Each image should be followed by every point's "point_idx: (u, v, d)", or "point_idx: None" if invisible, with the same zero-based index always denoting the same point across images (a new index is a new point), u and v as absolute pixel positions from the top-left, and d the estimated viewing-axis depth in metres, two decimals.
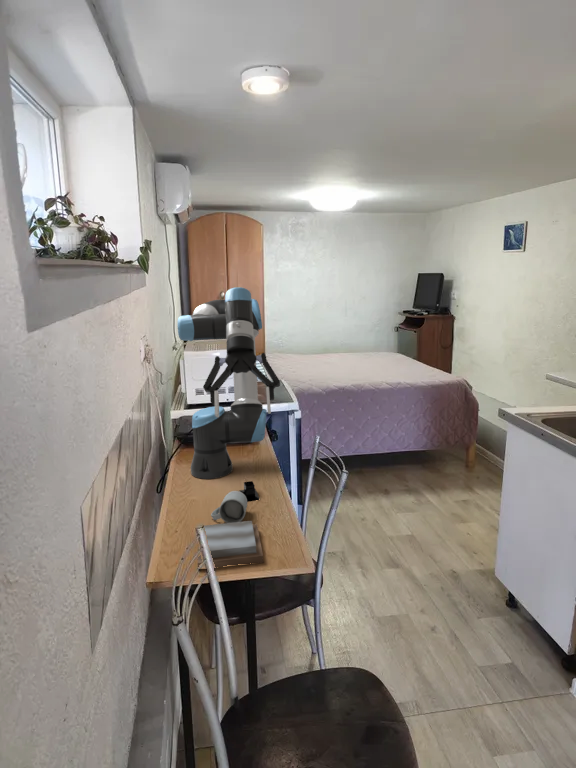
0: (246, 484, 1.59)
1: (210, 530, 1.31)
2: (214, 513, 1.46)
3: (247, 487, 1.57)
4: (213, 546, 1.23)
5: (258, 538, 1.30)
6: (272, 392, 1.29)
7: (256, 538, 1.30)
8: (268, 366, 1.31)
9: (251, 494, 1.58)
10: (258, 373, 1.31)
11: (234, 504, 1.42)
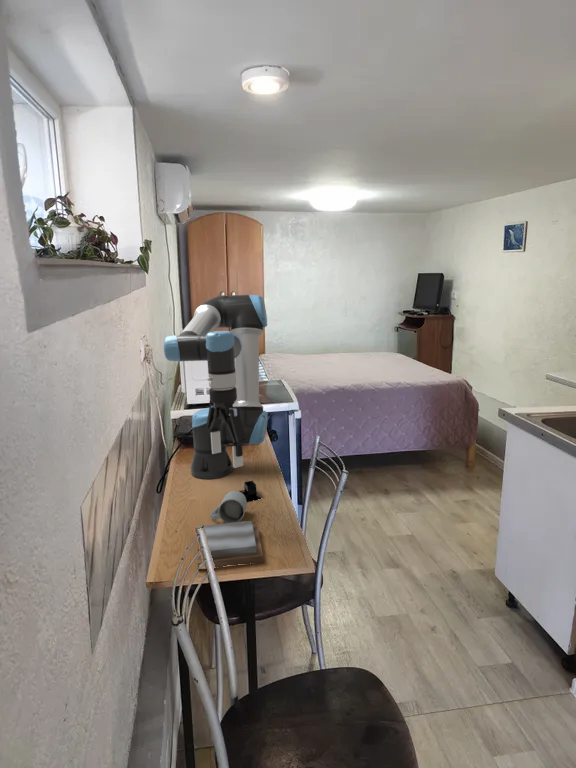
0: (247, 484, 1.59)
1: (210, 530, 1.31)
2: (213, 513, 1.46)
3: (249, 487, 1.58)
4: (213, 546, 1.23)
5: (258, 538, 1.30)
6: (237, 450, 1.33)
7: (256, 538, 1.30)
8: (233, 424, 1.32)
9: (252, 493, 1.58)
10: (228, 428, 1.35)
11: (233, 504, 1.42)
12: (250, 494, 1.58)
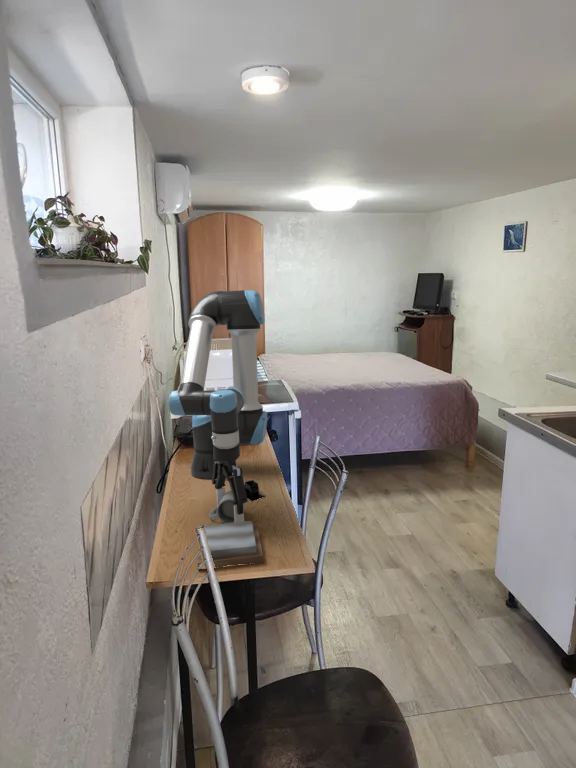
0: (249, 484, 1.59)
1: (210, 530, 1.31)
2: (212, 513, 1.46)
3: (251, 486, 1.58)
4: (213, 546, 1.23)
5: (258, 538, 1.30)
6: (238, 509, 1.38)
7: (256, 538, 1.30)
8: (235, 484, 1.36)
9: (255, 492, 1.59)
10: (231, 486, 1.39)
11: (232, 504, 1.42)
12: (253, 493, 1.58)
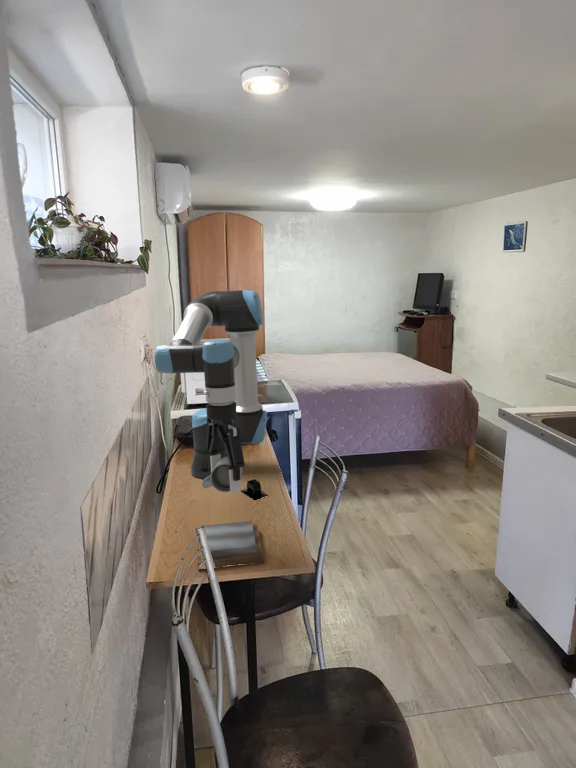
0: (251, 483, 1.60)
1: (210, 530, 1.31)
2: (205, 481, 1.30)
3: (254, 485, 1.59)
4: (213, 546, 1.23)
5: (258, 538, 1.30)
6: (234, 474, 1.22)
7: (256, 538, 1.30)
8: (231, 446, 1.20)
9: (257, 491, 1.59)
10: (226, 449, 1.23)
11: (227, 470, 1.26)
12: (255, 492, 1.59)
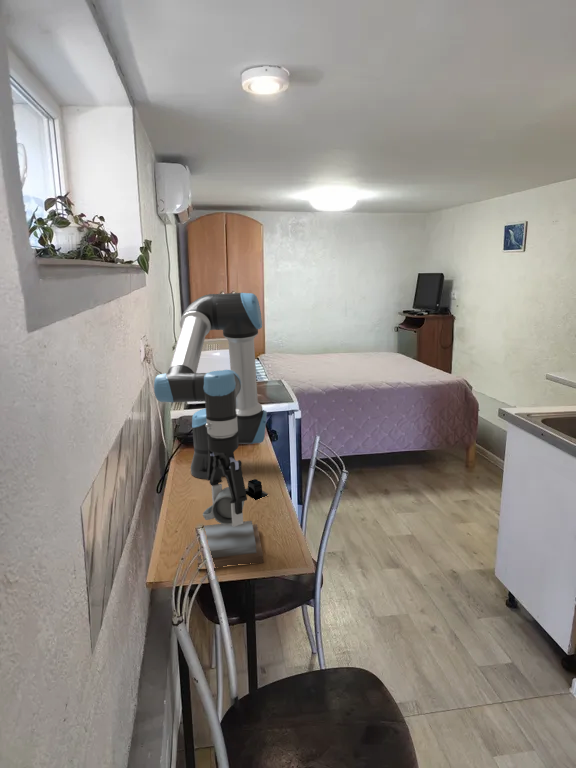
0: (252, 482, 1.60)
1: (210, 530, 1.31)
2: (206, 512, 1.28)
3: (255, 485, 1.59)
4: (213, 546, 1.23)
5: (258, 538, 1.30)
6: (236, 508, 1.20)
7: (256, 538, 1.30)
8: (233, 479, 1.18)
9: (258, 491, 1.60)
10: (228, 482, 1.21)
11: (229, 502, 1.24)
12: (256, 492, 1.59)
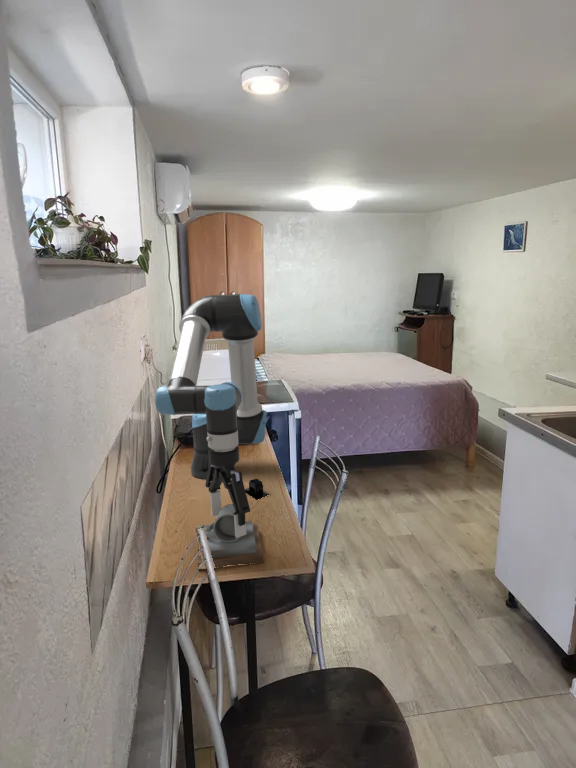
0: (253, 482, 1.60)
1: None
2: (207, 530, 1.29)
3: (256, 484, 1.59)
4: (213, 546, 1.23)
5: (258, 538, 1.30)
6: (239, 519, 1.19)
7: (256, 538, 1.30)
8: (235, 491, 1.18)
9: (259, 491, 1.60)
10: (230, 494, 1.21)
11: (230, 520, 1.25)
12: (257, 491, 1.60)
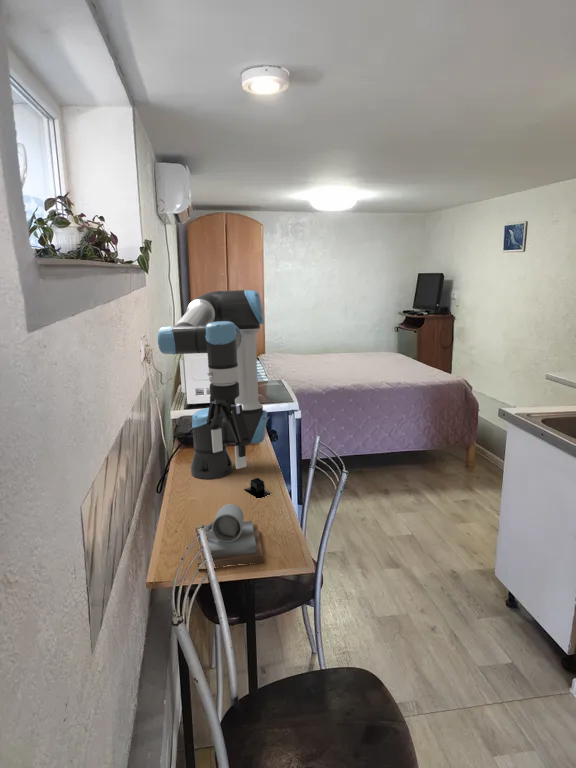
0: (255, 481, 1.60)
1: (210, 530, 1.31)
2: (206, 530, 1.29)
3: (257, 484, 1.59)
4: (213, 546, 1.23)
5: (258, 538, 1.30)
6: (240, 450, 1.24)
7: (256, 538, 1.30)
8: (235, 423, 1.22)
9: (261, 490, 1.60)
10: (230, 427, 1.25)
11: (229, 520, 1.25)
12: (259, 491, 1.60)
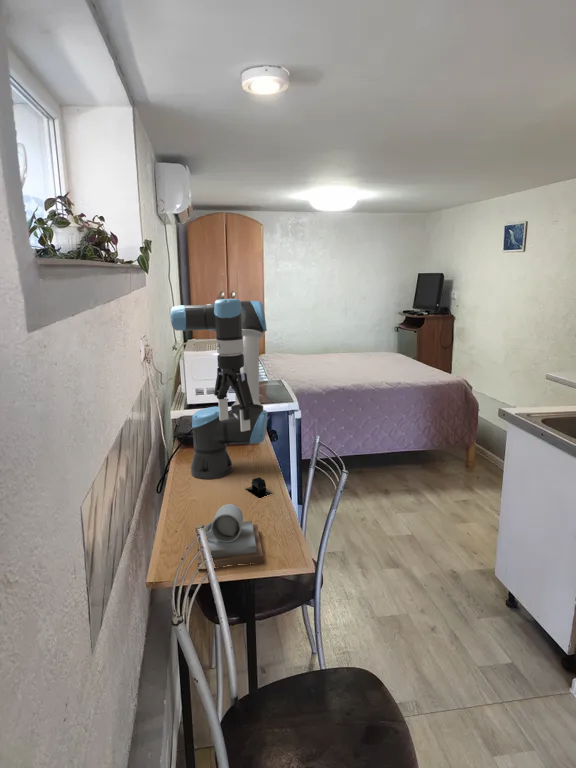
0: (256, 481, 1.61)
1: (210, 530, 1.31)
2: (205, 530, 1.29)
3: (259, 483, 1.60)
4: (213, 546, 1.23)
5: (258, 538, 1.30)
6: (244, 414, 1.37)
7: (256, 538, 1.30)
8: (240, 389, 1.36)
9: (262, 489, 1.61)
10: (236, 393, 1.39)
11: (228, 520, 1.25)
12: (260, 490, 1.60)
